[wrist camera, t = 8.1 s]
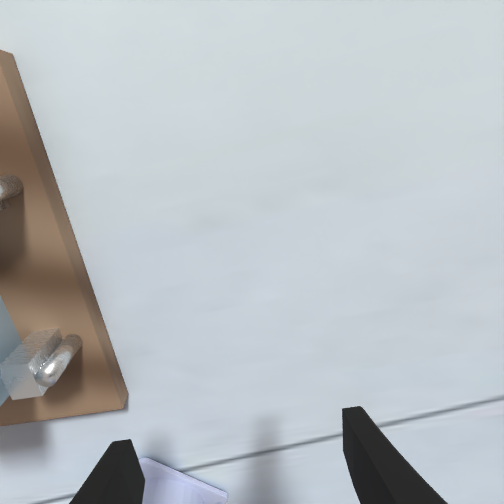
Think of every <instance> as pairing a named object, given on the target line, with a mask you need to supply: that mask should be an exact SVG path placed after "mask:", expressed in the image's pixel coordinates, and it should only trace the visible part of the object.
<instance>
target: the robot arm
mask: <svg viewBox="0 0 504 504" xmlns="http://www.w3.org/2000/svg"><path fill="white" fill-rule="evenodd" d="M342 420H343V452H344V455H345V459H346V462H347V466H348V469H349V472H350V476H351V479H352V482H353V486H354V488H355V491H356V493H357V496H358V499H359V501H360V504H448V503H447V502H446V501H445V500H444V499H442V498H441V497H440V495H439V494H438V493H437V492H436V491H435V490H434V489H433V488H432V487H431V486H430V485H429V484H428V483H427V482H426V481H425V480H424V479H423V478H422V477H421V476H420V475H419V474H418V473H417V472H416V471H415V470H414V468H413V467H412V466H411V465H410V464H409V463H408V462H407V461H406V460H405V459H404V457H403V456H402V455H401V454H400V453H399V452H398V451H397V450H396V448H395V447H394V446H393V445H392V444H391V443H390V441H389V440H388V439H387V438H386V437H385V435H384V434H383V433H382V432H381V431H380V429H379V428H378V427H377V426H376V424H375V423H374V422H373V421H372V419H371V418H370V417H369V415H368V414H367V413H366V412H365V410H364V409H363V408H362V407H361V406H357V407H350V408H343V409H342ZM227 501H228V494H227V493H226V492H224V491H222V490H219V489H217V488H215V487H212V486H210V485H208V484H206V483H203V482H201V481H199V480H197V479H194V478H192V477H190V476H188V475H185V474H183V473H181V472H179V471H176V470H174V469H172V468H170V467H167V466H165V465H163V464H161V463H158V462H156V461H154V460H152V459H149V458H146V457H144V458H141V459H139V460H138V458H137V455H136V452H135V450H134V447H133V444H132V441H131V439H128V440H121V441H114V442H112V443H111V444H110V446H109V447H108V449H107V450H106V452H105V453H104V455H103V456H102V457H101V459H100V460H99V462H98V463H97V465H96V466H95V468H94V469H93V471H92V472H91V474H90V475H89V476H88V478H87V479H86V481H85V482H84V484H83V485H82V487H81V488H80V489H79V491H78V492H77V494H76V495H75V496H74V498H73V499H72V501H71V502H70V503H69V504H225V503H227Z"/></svg>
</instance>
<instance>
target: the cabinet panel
mask: <svg viewBox="0 0 504 504" xmlns="http://www.w3.org/2000/svg"><path fill="white" fill-rule="evenodd" d="M8 174H11V175H15V176H17V177H18V178H19V179H20V180H21V181H22V183H23V186H24V189H23V192H22V193H21V194H20V195H17V196H14V197H11V198H7V201H8V203H9V206H10V207H9V208H6V209H3V210H0V296H1V298H2V300H3V302H4V304H5V306H6V309H7V311H8V313H9V315H10V317H11V319H12V321H13V324H14V326H15V328H16V330H17V332H18V334H19V337H20V339H21V341H23V340H24V339H25V338H26V337H27V336H28V335H29V334H30V333H31V332H32V331H39V330H47V329H54V328H59V329H60V332H61V334H62V337H63V339H64V338H65V337H66V336H67V335H68V334H76V335H78V336H80V337H81V339H82V345H81V347H80V348H79V350H78V351H77V352H76V354H75V355H74V357H73V358H72V360H71V361H70V363H69V364H68V366H67V367H66V368H65V370H64V371H63V373H62V374H61V376H60V377H59V379H58V380H57V382H56V383H55V384H54V385H53V386H51V387H48V389H47V390H46V392H45V393H44V395H43V396H38V397H31V398H24V399H17V400H12V398H11V396H10V395H9V397H8V398H7V399H6V400H5V402H4V403H3V404H2V405H1V406H0V426H6V425H13V424H20V423H27V422H34V421H41V420H48V419H55V418H62V417H69V416H76V415H83V414H90V413H97V412H104V411H111V410H118V409H123V407H124V405H125V402H126V400H127V397H128V391H127V388H126V386H125V383H124V380H123V377H122V374H121V371H120V368H119V365H118V362H117V359H116V356H115V353H114V350H113V347H112V344H111V341H110V339H109V336H108V333H107V330H106V327H105V324H104V321H103V318H102V315H101V312H100V309H99V306H98V303H97V300H96V297H95V295H94V292H93V289H92V286H91V283H90V280H89V277H88V274H87V271H86V268H85V265H84V262H83V259H82V256H81V253H80V250H79V248H78V245H77V242H76V239H75V236H74V233H73V230H72V227H71V224H70V221H69V218H68V215H67V212H66V209H65V206H64V204H63V201H62V198H61V195H60V192H59V189H58V186H57V183H56V180H55V177H54V174H53V171H52V168H51V165H50V162H49V159H48V157H47V154H46V151H45V148H44V145H43V142H42V139H41V136H40V133H39V130H38V127H37V124H36V121H35V118H34V115H33V113H32V110H31V107H30V104H29V101H28V98H27V95H26V92H25V89H24V86H23V83H22V80H21V77H20V74H19V71H18V68H17V66H16V63H15V60H14V57H13V54H11V53H8V52H5V51H2V50H0V176H3V175H8Z"/></svg>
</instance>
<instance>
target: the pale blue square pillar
mask: <svg viewBox="0 0 504 504" xmlns="http://www.w3.org/2000/svg"><path fill="white" fill-rule="evenodd" d="M21 343H22V341H21V339H20V337H19V334H18V332H17V330H16V328H15V326H14V324H13V321H12V319H11V317H10V315H9V313H8V311H7V309H6V306H5V304H4V302H3V300H2V298H1V296H0V364H1V363H2V362H3V361H4V360H5V359H6V358H7V357H8V356H9V355H10V354H11V353H12V352H13V351H14V350H15V349H16V348H17V347H18V346H19V345H20V344H21ZM9 395H10V394H9V392H8V390H7V389H6V387H5V385H4V383H3V381H2V379H1V377H0V406H1V405H2V404H3V403H4V402H5V400H6V399H7V398H8V397H9Z"/></svg>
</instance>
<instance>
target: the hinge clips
mask: <svg viewBox="0 0 504 504" xmlns="http://www.w3.org/2000/svg"><path fill="white" fill-rule="evenodd" d="M23 189H24V186H23V183H22V181H21V180H20V179H19V178H18V177H17V176H15V175H11V174H8V175H3V176H0V210H3V209H6V208H9V207H10V206H9V203H8V201H7V198H11V197H14V196H17V195H20V194H21V193H22V192H23ZM81 345H82V339H81V337H80V336H78V335H76V334H68V335H67V336H66V337H65V338H64V339H63V337H62V334H61V332H60V329H59V328H54V329H47V330H39V331H32V332H31V333H30V334H29V335H28V336H27V337H26V338H25V339H24V340H23V341H22V343H21V344H20V345H19V346H18V347H17V348H16V349H15V350H14V351H13V352H12V353H11V354H10V355H9V356H8V357H7V358H6V359H5V360H4V361H3V362H2V363H1V364H0V377H1V379H2V381H3V383H4V385H5V387H6V389H7V390H8V392H9V394H10V396H11V398H12V400H17V399H24V398H31V397H38V396H43V395H44V393H45V392H46V390H47V389H48V387H51V386H53V385H54V384H55V383H56V382H57V380H58V379H59V377H60V376H61V374H62V373H63V371H64V370H65V368H66V367H67V366H68V364H69V363H70V361H71V360H72V358H73V357H74V355H75V354H76V352H77V351H78V350H79V348H80V347H81Z"/></svg>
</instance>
